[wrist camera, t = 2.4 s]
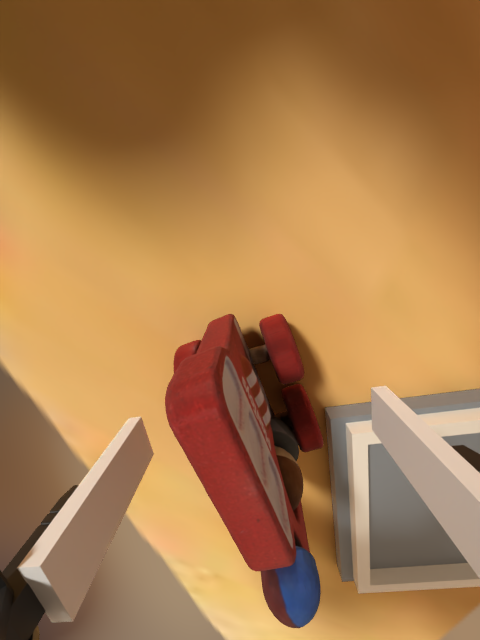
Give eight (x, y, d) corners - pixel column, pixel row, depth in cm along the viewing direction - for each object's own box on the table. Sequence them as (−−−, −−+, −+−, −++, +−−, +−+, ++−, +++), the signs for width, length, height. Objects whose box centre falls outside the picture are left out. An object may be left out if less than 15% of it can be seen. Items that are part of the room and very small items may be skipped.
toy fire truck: (235, 455, 18) (220, 694, 8) (175, 317, 15) (36, 438, 5) (318, 435, 18) (413, 673, 8) (274, 284, 14) (334, 353, 4)
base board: (324, 407, 17) (336, 429, 15) (528, 382, 16) (572, 402, 14) (337, 564, 22) (346, 597, 19) (492, 553, 21) (520, 587, 18)
